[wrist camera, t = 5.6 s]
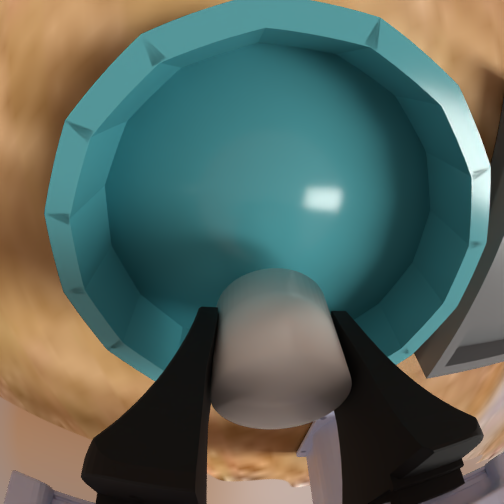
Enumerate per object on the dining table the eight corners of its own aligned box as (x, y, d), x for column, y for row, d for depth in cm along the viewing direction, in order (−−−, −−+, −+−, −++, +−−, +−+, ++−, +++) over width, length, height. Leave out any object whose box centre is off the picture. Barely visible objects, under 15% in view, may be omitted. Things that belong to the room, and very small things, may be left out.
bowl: (382, 344, 18) (402, 394, 15) (119, 336, 17) (101, 390, 13) (464, 77, 10) (525, 88, 6) (91, 28, 9) (37, 16, 5)
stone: (313, 350, 14) (330, 425, 10) (215, 349, 13) (211, 428, 10) (336, 270, 11) (371, 350, 8) (216, 265, 11) (209, 352, 8)
